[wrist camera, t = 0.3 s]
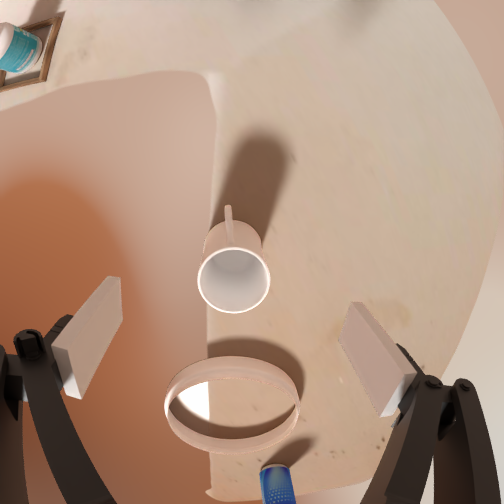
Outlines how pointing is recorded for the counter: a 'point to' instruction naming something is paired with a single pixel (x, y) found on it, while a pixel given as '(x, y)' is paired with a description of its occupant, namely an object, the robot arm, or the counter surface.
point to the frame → (46, 60)
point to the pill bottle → (18, 49)
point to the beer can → (276, 485)
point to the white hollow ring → (197, 403)
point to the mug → (233, 267)
